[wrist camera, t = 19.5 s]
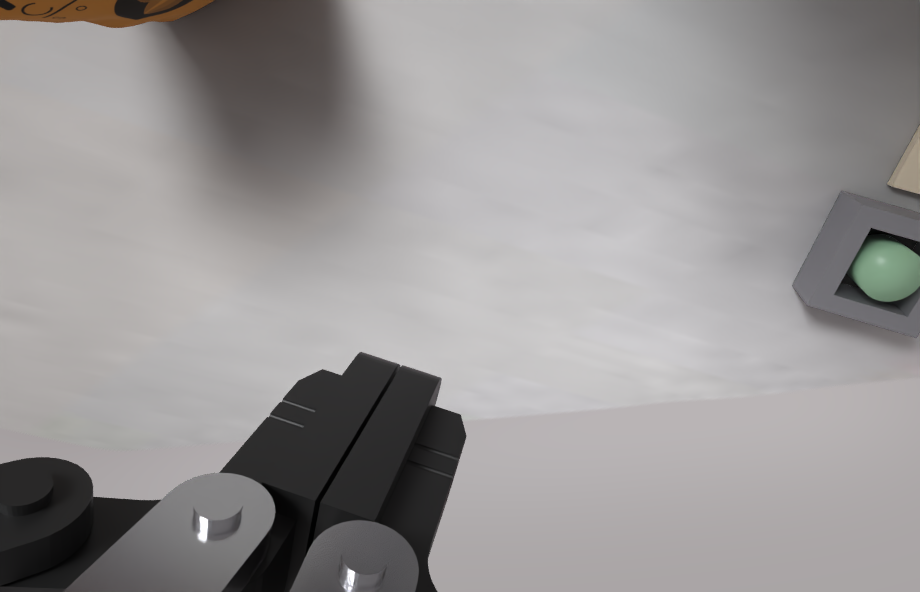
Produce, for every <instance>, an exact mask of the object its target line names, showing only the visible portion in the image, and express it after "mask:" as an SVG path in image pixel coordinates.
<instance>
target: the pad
mask: <svg viewBox="0 0 920 592" xmlns="http://www.w3.org/2000/svg"><path fill="white" fill-rule="evenodd" d="M887 184H888V185H890V186H892V187H895V188H899V189H903V190H906V191H910V192H913V193H917V194H920V125H919V127H918V129H917V131H916V132H915V134H914V136H913V138H912V140H911V141H910V143H909V145H908V147H907V149H906V151H905V152H904V154H903V156H902V158H901V160H900V161H899V163H898V165H897V167H896V169H895V170H894V172H893V174H892V176H891V178H890V179H889V181H888V183H887Z"/></svg>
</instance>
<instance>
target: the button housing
mask: <svg viewBox="0 0 920 592" xmlns="http://www.w3.org/2000/svg"><path fill="white" fill-rule="evenodd" d="M871 228H873V229H877V230H880V231H884V232H887V233H891V234H894V235H898V236H901V237H905V238H908V239H912V240H915V241H918V242H917V243H916V245H915V247H914V248H913V250H912V251H913V252H914V253H916V254H917V255H918V256H919V257H920V213H918V212H915V211H911V210H908V209H904V208H901V207H897V206H893V205H890V204H886V203H883V202H879V201H876V200H872V199H869V198H865V197H861V196H858V195H854V194H851V193H847V192H844V191H841V193H840V195H839V197H838V198H837V200H836V202H835V204H834V206H833V208H832V210H831V212H830V214H829V216H828V218H827V220H826V221H825V223H824V225H823V227H822V229H821V231H820V233H819V235H818V237H817V239H816V241H815V243H814V244H813V246H812V248H811V250H810V252H809V254H808V256H807V258H806V260H805V262H804V264H803V265H802V267H801V269H800V271H799V273H798V275H797V277H796V279H795V281H794V283H793V285H792V286H793V288H794V289H795V290H796V292H797V293H798V294H799V296H800V297H801V298H802V300H803V301H804V302H805V304H806V305H807V306H810V307H814V308H817V309H820V310H824V311H827V312H830V313H834V314H837V315H840V316H844V317H847V318H851V319H854V320H857V321H861V322H864V323H867V324H871V325H874V326H877V327H881V328H884V329H887V330H891V331H894V332H897V333H901V334H904V335H907V336H911V337H914V338H917V336H918V335H919V333H920V286H919V288H918V289H917V290H916V291H915V292H914V293H912V294H911V295H909V296H907V297H906V298H903V299H901V300H897V301H891V302H884V301H878V300H875V299H873V298H871V297H870V296H868V295H867V294H866V293H865V292H864V291H863V290H862V289H860V288H857V287H854V286H850V285H847V284H843V283H841V281H842V279H843V277H844V276H845V274H846V272H847V270H848V269H849V267H850V265H851V263H852V261H853V260H854V258H855V256H856V254H857V252H858V251H859V249H860V247H861V245H862V243H863V242H864V240H865V238H866V236H867V235H868V233H869V231H870V229H871Z"/></svg>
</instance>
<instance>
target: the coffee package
mask: <svg viewBox="0 0 920 592" xmlns="http://www.w3.org/2000/svg"><path fill="white" fill-rule="evenodd" d="M213 1H214V0H0V20H23V21H41V22H54V23H62V22H74V21H86V22H91V23H94V24H98V25H102V26H106V27H111V28H123V27H130V26H135V25H138V24H142V23H146V22H150V21H157V22H168V21H174V20H176V19H179V18H181V17H183V16H186V15H188V14H190V13H192V12H194V11H197V10H199V9H200V8H202V7H204V6H206V5H207V4H209V3H211V2H213Z"/></svg>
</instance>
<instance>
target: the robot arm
mask: <svg viewBox="0 0 920 592" xmlns="http://www.w3.org/2000/svg"><path fill="white" fill-rule="evenodd" d="M440 385H441V378H440V377H437V376H434V375H431V374H428V373H425V372H422V371H419V370H415V369H412V368H409V367H406V366H401V367H400V365H399V364H397V363H393V362H390V361H387V360H384V359H381V358H378V357H375V356H372V355H369V354H366V353H363V352H360V353H359V354H358V355H357V356H356V357H355V359H354V360H353V361H352V363H351V364H350V365H349V367H348V368H347V369H346V371H345V372H344V373H343V375H342V376H341V375H338V374H335V373H332V372H329V371H326V370H323V369H322V370H320V371H318V372H316V373H314V374H312V375H310V376H307V377H305V378H303V379H301V380H299V381H298V382H297V383H296V384H295V385H294V387H293V388H292V389H291V390H290V391H289V392H288V393H287V395H286V396H285V397H284V398H283V401H282V402H280V403H279V404H278V405H277V406H276V407H275V409H274V410H273V411H272V412H271V413H270V416H269V417H267V418H266V419H265V420H264V421H263V423H262V424H261V425H260V426H259V427H258V428H257V429H256V431H255V432H254V433H253V434H252V435H251V436H250V438H249V439H248V440H247V441H246V442H245V443H244V445H243V446H242V447H241V448H240V449H239V451H238V452H237V453H236V454H235V455H234V456H233V457H232V459H231V460H230V461H229V462H228V463H227V464H226V466H225V467H224V468H223V469H222V470H221V471H220V472H219V473H212V474H206V475H202V476H198V477H195V478H192V479H190V480H187V481H185V482H183V483H182V484H180V485H178V486H177V487H176V488H174V489H173V490H172V491H171V492H169V493H168V494H167V495H166V496H165V497H164V498H163V499H162V500H130V499H115V498H102V497H93V484H92V480H91V478H90V477H89V475H88V473H87V472H86V471H85V470H84V469H83V468H81V467H80V466H78V465H77V464H74V463H72V462H69V461H66V460H62V459H57V458H49V457H45V458H44V457H41V458H40V457H39V458H27V459H21V460H16V461H12V462H8V463H3V464H0V592H437V590H436V589H435V587H434V584H433V583H432V580H431V577H430V574H429V569H428V557H429V554H430V550H431V547H432V544H433V541H434V538H435V535H436V532H437V529H438V526H439V523H440V520H441V517H442V513H443V510H444V508H445V504H446V501H447V498H448V495H449V491H450V488H451V485H452V482H453V478H454V475H455V472H456V469H457V466H458V462H459V459H460V456H461V453H462V449H463V446H464V443H465V439H466V433H465V429H464V425H463V422H462V418H461V415H460V414H457V413H454V412H451V411H448V410H445V409H442V408H439V407H436V406H435V404H436V400H437V396H438V393H439V389H440Z"/></svg>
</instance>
